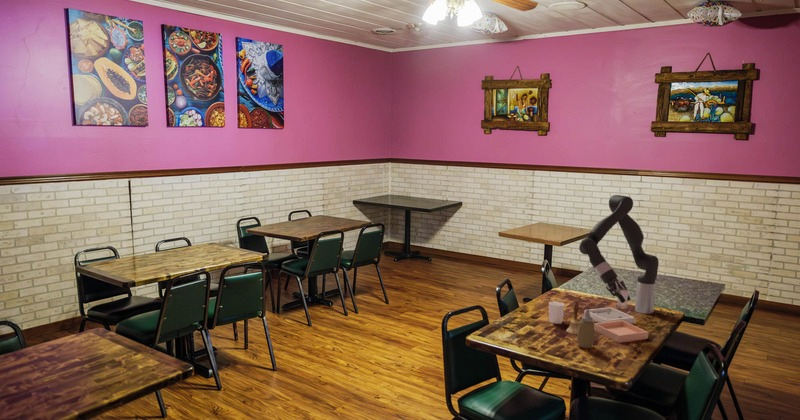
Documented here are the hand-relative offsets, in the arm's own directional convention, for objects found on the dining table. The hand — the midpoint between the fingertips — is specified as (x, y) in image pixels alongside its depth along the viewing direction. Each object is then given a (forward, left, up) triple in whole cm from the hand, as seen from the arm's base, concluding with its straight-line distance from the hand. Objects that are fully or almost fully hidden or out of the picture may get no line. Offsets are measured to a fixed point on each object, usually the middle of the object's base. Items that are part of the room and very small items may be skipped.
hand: (626, 301), depth 280 cm
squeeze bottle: (+29, +6, -18) cm, 34 cm away
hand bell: (+21, -12, -18) cm, 30 cm away
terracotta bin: (+1, -2, -18) cm, 18 cm away
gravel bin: (-9, -22, -18) cm, 30 cm away
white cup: (+21, -28, -18) cm, 39 cm away
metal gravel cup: (+1, -2, -4) cm, 4 cm away
